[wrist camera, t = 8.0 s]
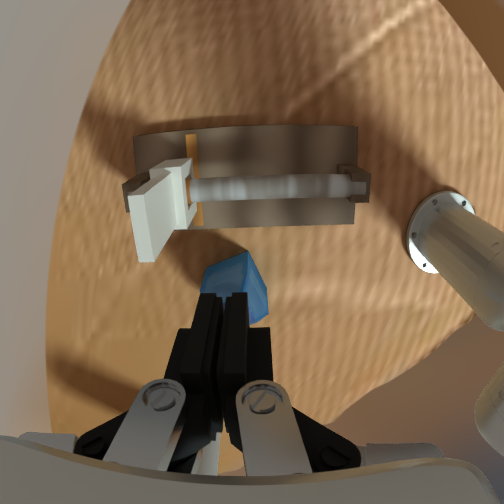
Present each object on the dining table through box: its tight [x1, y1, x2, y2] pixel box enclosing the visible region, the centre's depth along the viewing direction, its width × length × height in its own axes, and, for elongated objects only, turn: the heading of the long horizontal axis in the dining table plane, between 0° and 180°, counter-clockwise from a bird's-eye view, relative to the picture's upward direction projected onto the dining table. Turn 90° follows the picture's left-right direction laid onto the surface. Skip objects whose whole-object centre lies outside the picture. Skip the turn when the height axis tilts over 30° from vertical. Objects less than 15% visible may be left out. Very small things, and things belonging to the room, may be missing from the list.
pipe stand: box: [122, 125, 371, 231], centre depth 34 cm, size 26×12×8 cm, turn 92°
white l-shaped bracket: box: [128, 158, 197, 262], centre depth 28 cm, size 3×6×14 cm, turn 2°
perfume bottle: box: [200, 251, 269, 325], centre depth 38 cm, size 6×6×12 cm
